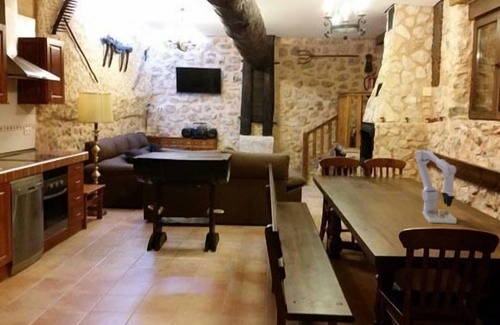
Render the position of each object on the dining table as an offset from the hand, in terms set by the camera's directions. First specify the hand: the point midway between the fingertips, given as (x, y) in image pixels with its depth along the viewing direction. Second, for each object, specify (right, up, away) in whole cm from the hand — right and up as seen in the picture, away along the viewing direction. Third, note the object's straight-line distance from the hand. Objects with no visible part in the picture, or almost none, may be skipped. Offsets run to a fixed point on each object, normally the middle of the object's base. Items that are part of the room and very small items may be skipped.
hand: (447, 205), depth 313 cm
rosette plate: (-5, -9, 0) cm, 11 cm away
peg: (-5, -10, -2) cm, 11 cm away
